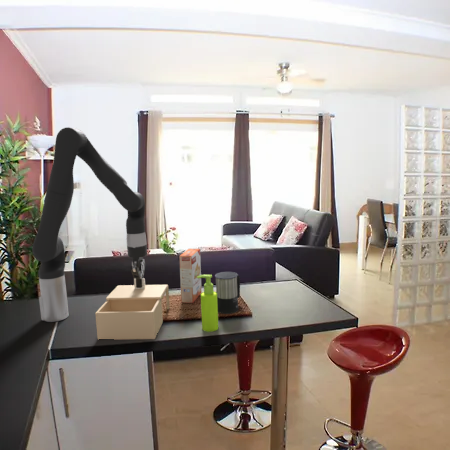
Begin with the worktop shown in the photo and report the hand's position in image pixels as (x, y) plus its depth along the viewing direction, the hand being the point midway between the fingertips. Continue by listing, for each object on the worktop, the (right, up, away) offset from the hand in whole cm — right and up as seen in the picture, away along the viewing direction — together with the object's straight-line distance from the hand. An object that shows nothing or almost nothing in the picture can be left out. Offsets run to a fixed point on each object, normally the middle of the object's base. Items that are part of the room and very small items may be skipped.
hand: (139, 286), depth 156 cm
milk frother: (+32, -10, +7) cm, 34 cm away
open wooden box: (0, -13, -6) cm, 14 cm away
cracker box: (+19, -8, +19) cm, 28 cm away
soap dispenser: (+28, -13, -13) cm, 33 cm away
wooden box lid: (0, -2, -3) cm, 3 cm away
